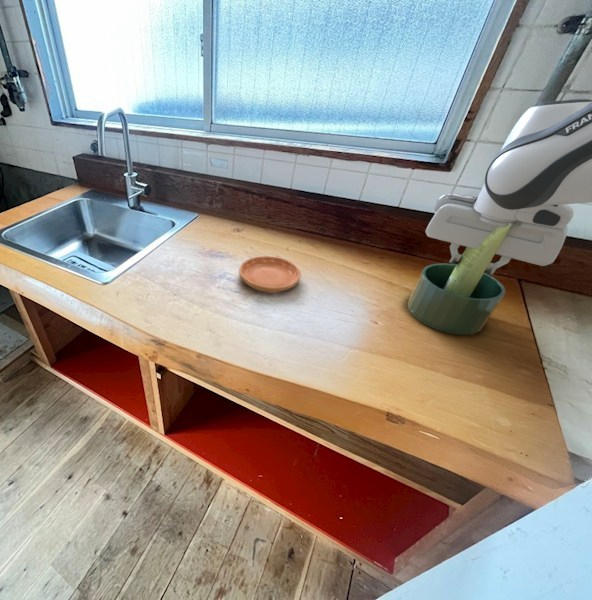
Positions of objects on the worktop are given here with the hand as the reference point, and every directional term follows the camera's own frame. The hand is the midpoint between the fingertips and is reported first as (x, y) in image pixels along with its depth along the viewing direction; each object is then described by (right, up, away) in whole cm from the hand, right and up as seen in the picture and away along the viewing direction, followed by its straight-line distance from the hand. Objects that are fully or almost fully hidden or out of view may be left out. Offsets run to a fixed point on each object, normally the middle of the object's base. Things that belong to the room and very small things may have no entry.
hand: (470, 267), depth 67 cm
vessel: (-1, -10, +6) cm, 11 cm away
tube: (0, -7, +5) cm, 8 cm away
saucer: (-38, -1, +20) cm, 43 cm away
